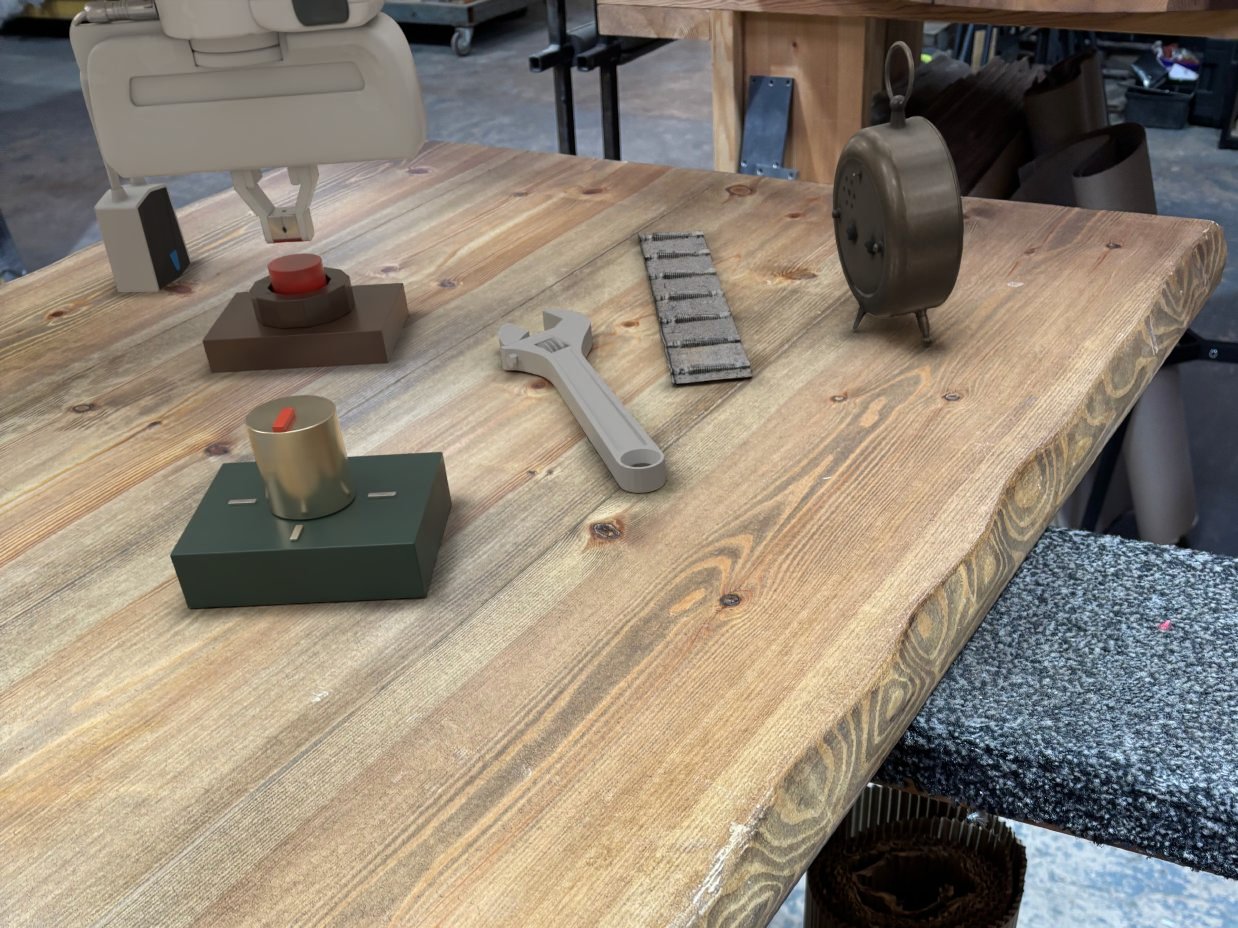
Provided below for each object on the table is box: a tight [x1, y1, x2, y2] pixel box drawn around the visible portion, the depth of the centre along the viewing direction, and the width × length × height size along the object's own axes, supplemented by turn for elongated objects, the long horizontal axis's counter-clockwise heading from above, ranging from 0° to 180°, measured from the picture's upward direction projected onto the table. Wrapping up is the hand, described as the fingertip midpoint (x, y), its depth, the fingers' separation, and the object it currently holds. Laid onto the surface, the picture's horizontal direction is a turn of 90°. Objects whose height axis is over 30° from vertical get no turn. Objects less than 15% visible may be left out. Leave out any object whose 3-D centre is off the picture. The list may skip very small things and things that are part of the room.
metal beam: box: [637, 229, 754, 385], centre depth 93 cm, size 30×1×5 cm
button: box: [266, 252, 327, 295], centre depth 89 cm, size 4×4×2 cm
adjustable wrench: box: [497, 308, 667, 494], centre depth 81 cm, size 25×6×2 cm, turn 14°
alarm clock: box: [831, 40, 965, 348], centre depth 82 cm, size 11×5×16 cm, turn 17°
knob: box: [244, 394, 355, 520], centre depth 66 cm, size 4×4×5 cm
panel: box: [169, 451, 453, 609], centre depth 68 cm, size 12×10×3 cm
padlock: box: [79, 70, 192, 293], centre depth 99 cm, size 7×4×15 cm, turn 173°
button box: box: [201, 266, 410, 374], centre depth 91 cm, size 12×9×4 cm
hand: (291, 239), depth 87 cm, fingers closed
